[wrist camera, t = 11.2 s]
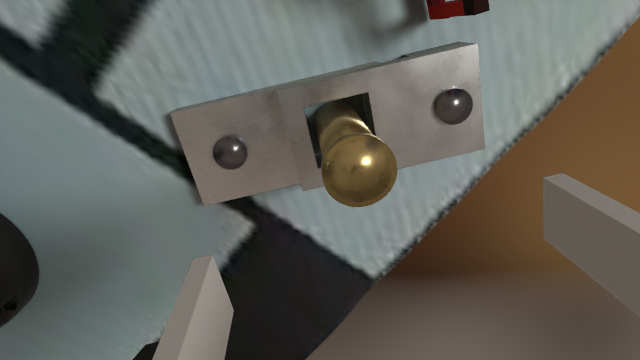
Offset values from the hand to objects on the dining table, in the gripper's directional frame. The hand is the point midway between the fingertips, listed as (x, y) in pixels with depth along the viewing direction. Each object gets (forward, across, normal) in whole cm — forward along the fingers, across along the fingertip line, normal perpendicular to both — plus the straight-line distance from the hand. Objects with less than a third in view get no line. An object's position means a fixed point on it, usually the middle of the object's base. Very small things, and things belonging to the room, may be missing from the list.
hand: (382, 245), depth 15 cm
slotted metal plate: (+23, +1, 0) cm, 23 cm away
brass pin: (+23, +1, 0) cm, 23 cm away
